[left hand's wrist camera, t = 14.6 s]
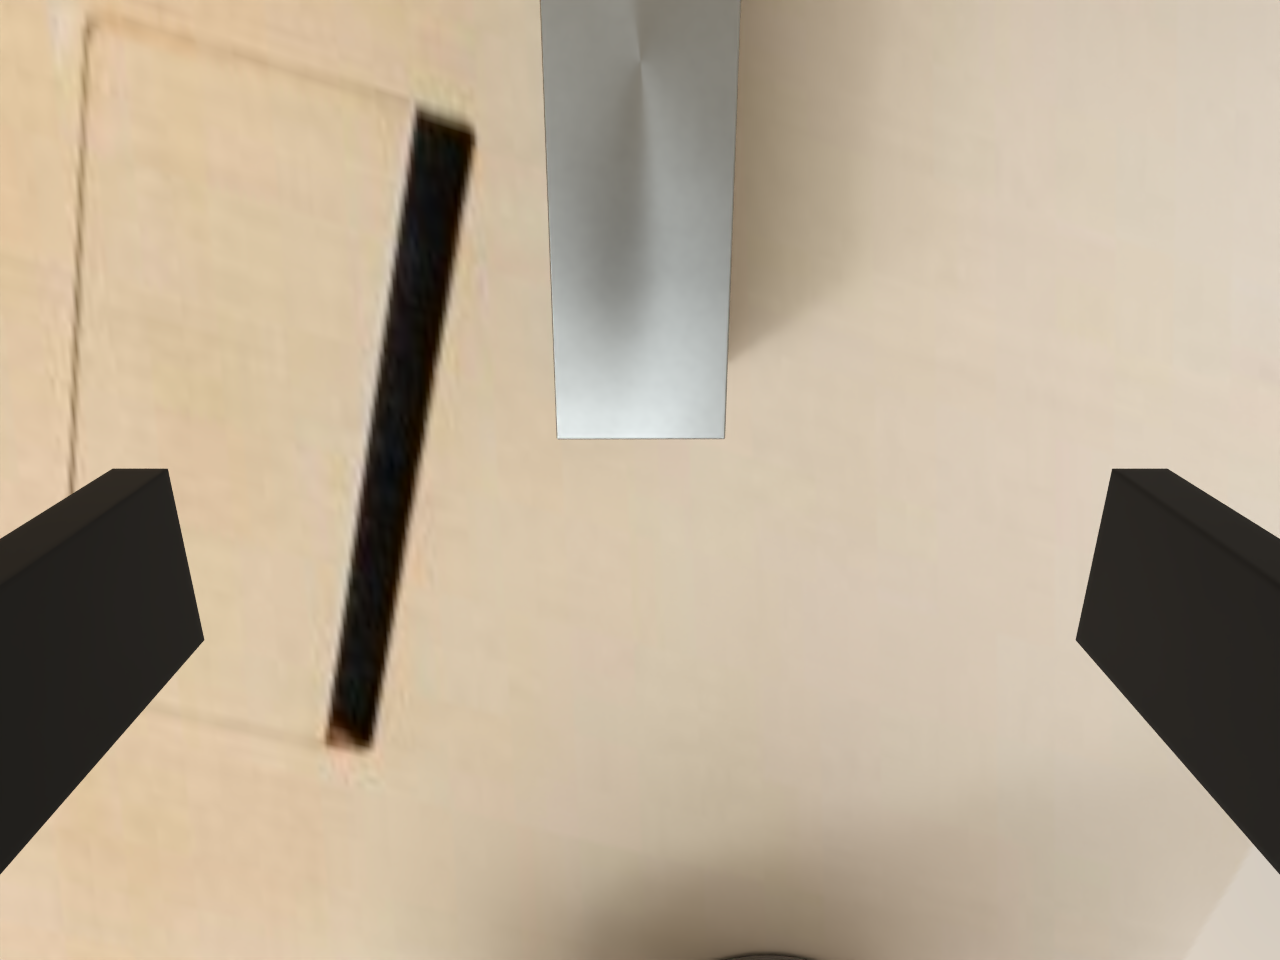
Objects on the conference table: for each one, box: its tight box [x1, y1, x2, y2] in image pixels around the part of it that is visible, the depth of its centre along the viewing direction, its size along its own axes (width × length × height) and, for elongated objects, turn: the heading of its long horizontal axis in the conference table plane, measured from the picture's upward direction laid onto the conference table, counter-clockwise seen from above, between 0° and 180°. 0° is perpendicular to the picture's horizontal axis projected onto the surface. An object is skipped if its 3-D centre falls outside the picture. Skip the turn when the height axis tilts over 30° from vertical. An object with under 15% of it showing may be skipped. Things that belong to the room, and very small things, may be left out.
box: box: [540, 0, 741, 439], centre depth 30 cm, size 24×6×9 cm, turn 0°
